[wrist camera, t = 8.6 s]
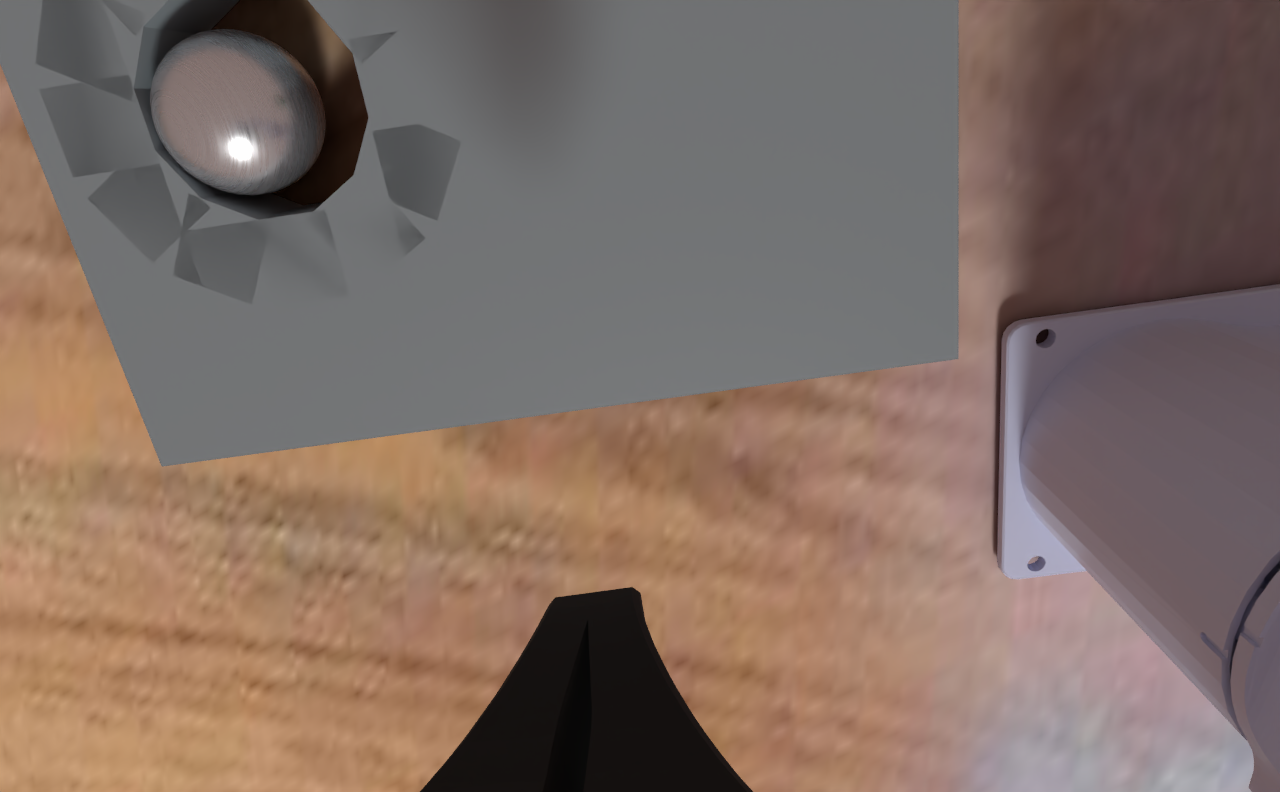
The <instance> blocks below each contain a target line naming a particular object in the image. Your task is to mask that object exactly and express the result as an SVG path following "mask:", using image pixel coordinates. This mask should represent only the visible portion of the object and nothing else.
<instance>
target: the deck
mask: <svg viewBox="0 0 1280 792" xmlns="http://www.w3.org/2000/svg"><path fill="white" fill-rule="evenodd" d="M238 1H239V0H0V64H1V67H2V69H3V72H4V74H5V77H6V79H7V82H8V84H9V87H10V89H11V92H12V94H13V97H14V99H15V102H16V104H17V107H18V109H19V112H20V114H21V117H22V119H23V122H24V124H25V127H26V129H27V132H28V134H29V137H30V139H31V142H32V144H33V147H34V149H35V152H36V154H37V157H38V159H39V162H40V164H41V167H42V169H43V172H44V174H45V177H46V179H47V182H48V184H49V187H50V189H51V191H52V194H53V196H54V199H55V201H56V204H57V206H58V209H59V211H60V214H61V216H62V219H63V221H64V224H65V226H66V229H67V231H68V234H69V236H70V239H71V241H72V244H73V246H74V249H75V251H76V254H77V256H78V259H79V261H80V264H81V266H82V269H83V271H84V274H85V276H86V279H87V281H88V284H89V286H90V289H91V291H92V294H93V296H94V299H95V301H96V304H97V306H98V309H99V311H100V314H101V316H102V319H103V321H104V324H105V326H106V329H107V331H108V334H109V336H110V339H111V341H112V344H113V346H114V348H115V351H116V353H117V356H118V358H119V361H120V363H121V366H122V368H123V371H124V373H125V376H126V378H127V381H128V383H129V386H130V388H131V391H132V393H133V396H134V398H135V401H136V403H137V406H138V408H139V411H140V413H141V416H142V418H143V421H144V423H145V426H146V428H147V431H148V433H149V436H150V438H151V441H152V443H153V446H154V448H155V451H156V453H157V456H158V458H159V461H160V463H161V466H169V465H176V464H184V463H191V462H198V461H206V460H213V459H221V458H228V457H235V456H243V455H250V454H258V453H265V452H272V451H280V450H287V449H295V448H302V447H309V446H317V445H324V444H332V443H339V442H347V441H354V440H361V439H369V438H376V437H384V436H391V435H398V434H406V433H413V432H421V431H428V430H435V429H443V428H450V427H458V426H465V425H472V424H480V423H487V422H495V421H502V420H509V419H517V418H524V417H532V416H539V415H546V414H554V413H561V412H569V411H576V410H583V409H591V408H598V407H606V406H613V405H620V404H628V403H635V402H643V401H650V400H657V399H665V398H672V397H680V396H687V395H694V394H702V393H709V392H717V391H724V390H731V389H739V388H746V387H754V386H761V385H768V384H776V383H783V382H791V381H798V380H806V379H813V378H820V377H828V376H835V375H843V374H850V373H857V372H865V371H872V370H880V369H887V368H894V367H902V366H909V365H917V364H924V363H931V362H939V361H946V360H954V359H958V0H308V1H309V2H310V4H311V5H312V6H313V7H314V8H315V10H316V11H317V12H318V13H319V14H320V16H321V17H322V18H323V19H324V20H325V21H326V23H327V24H328V25H329V26H330V27H331V29H332V30H333V31H334V32H335V33H336V34H337V36H338V37H339V38H340V39H341V40H342V42H343V43H344V44H345V45H346V46H347V48H348V49H349V50H350V51H351V52H352V54H353V58H354V62H355V65H356V69H357V73H358V77H359V81H360V85H361V89H362V93H363V97H364V101H365V105H366V109H367V113H368V117H369V118H368V122H367V126H366V130H365V134H364V137H363V141H362V145H361V149H360V153H359V157H358V161H357V164H356V168H355V172H354V175H353V176H352V177H351V178H350V179H349V180H348V181H346V182H345V183H344V184H343V185H342V186H341V187H340V188H339V189H338V190H337V191H335V192H334V193H333V194H332V195H331V196H330V197H329V198H328V199H327V200H326V201H324V202H322V203H315V204H308V205H300V204H298V203H295V202H292V201H290V200H287V199H285V198H282V197H279V196H277V195H274V194H272V193H268V194H261V195H240V194H234V193H229V192H225V191H222V190H219V189H216V188H214V187H211V186H209V185H207V184H205V183H203V182H202V181H200V180H198V179H197V178H195V177H194V176H192V175H191V174H190V173H188V172H187V171H186V170H185V169H183V168H182V167H181V166H180V165H179V164H178V163H177V162H176V161H175V160H174V159H173V157H172V156H171V155H170V154H169V152H168V151H167V150H166V148H165V146H164V145H163V143H162V141H161V140H160V138H159V136H158V133H157V131H156V129H155V126H154V123H153V119H152V114H151V106H150V92H151V85H152V81H153V77H154V75H155V72H156V69H157V67H158V65H159V64H160V62H161V61H162V59H163V58H164V56H165V55H166V54H167V53H168V52H169V51H170V50H171V49H172V48H173V47H174V46H175V45H177V44H178V43H179V42H181V41H182V40H184V39H185V38H188V37H190V36H192V35H194V34H197V33H200V32H204V31H208V30H211V29H212V28H213V27H214V26H215V25H216V24H217V23H218V22H219V21H220V20H221V19H222V18H223V17H224V16H225V15H226V14H227V13H228V12H229V11H230V10H231V9H232V8H233V7H234V6H235V5H236V4H237V2H238Z"/></svg>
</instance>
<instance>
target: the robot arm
mask: <svg viewBox="0 0 1280 792" xmlns="http://www.w3.org/2000/svg"><path fill="white" fill-rule="evenodd" d="M1045 329H1048V331H1049V334H1048V337H1047V339H1046V340H1045V341H1044V342H1042V343H1039V344H1036V337H1037V335H1038V333H1039V332H1040V331H1042V330H1045ZM1036 556H1039V558H1038V560H1037V561H1036V562H1035V563H1032V564H1028V561H1029V560H1030V559H1031V558H1033V557H1036ZM997 563H998V567H999V568H1000V570H1001V571H1002V572H1003V573H1004V575H1005V576H1006V577H1008V578H1011V579H1024V578H1033V577H1041V576H1049V575H1057V574H1066V573H1074V572H1082V571H1087V572H1088V573H1089V574H1090V575H1091V576H1092V577H1093V578H1094V579H1095V580H1096V581H1097V582H1098V583H1099V584H1100V585H1101V586H1102V587H1103V589H1104V590H1105V591H1106V592H1107V593H1108V594H1109V595H1110V596H1111V597H1112V598H1113V599H1114V600H1115V601H1116V602H1117V603H1118V604H1119V606H1120V607H1121V608H1122V609H1123V610H1124V611H1125V612H1126V613H1127V614H1128V615H1129V616H1130V617H1131V618H1132V619H1133V620H1134V621H1135V623H1136V624H1137V625H1138V626H1139V627H1140V628H1141V629H1142V630H1143V631H1144V632H1145V633H1146V634H1147V635H1148V636H1149V637H1150V638H1151V639H1152V641H1153V642H1154V643H1155V644H1156V645H1157V646H1158V647H1159V648H1160V649H1161V650H1162V651H1163V652H1164V653H1165V654H1166V655H1167V656H1168V658H1169V659H1170V660H1171V661H1172V662H1173V663H1174V664H1175V665H1176V666H1177V667H1178V668H1179V669H1180V670H1181V671H1182V672H1183V673H1184V675H1185V676H1186V677H1187V678H1188V679H1189V680H1190V681H1191V682H1192V683H1193V684H1194V685H1195V686H1196V687H1197V688H1198V689H1199V690H1200V692H1201V693H1202V694H1203V695H1204V696H1205V697H1206V698H1207V699H1208V700H1209V701H1210V702H1211V703H1212V704H1213V705H1214V706H1215V707H1216V709H1217V710H1218V711H1219V712H1220V713H1221V714H1222V715H1223V716H1224V717H1225V718H1226V719H1227V720H1228V721H1229V722H1230V723H1231V724H1232V725H1233V727H1234V728H1235V729H1236V730H1237V731H1238V732H1239V733H1240V734H1241V735H1242V736H1243V737H1244V738H1245V739H1246V740H1247V741H1248V743H1249V745H1250V747H1251V749H1252V751H1253V756H1254V771H1253V775H1252V778H1251V781H1250V784H1249V789H1250V790H1251V791H1252V792H1280V284H1277V285H1270V286H1262V287H1255V288H1248V289H1241V290H1233V291H1226V292H1219V293H1211V294H1204V295H1197V296H1189V297H1182V298H1175V299H1168V300H1160V301H1153V302H1146V303H1138V304H1131V305H1124V306H1116V307H1109V308H1102V309H1095V310H1087V311H1080V312H1073V313H1065V314H1058V315H1051V316H1043V317H1036V318H1029V319H1022V320H1018V321H1015V322H1013V323H1012V324H1010V325H1009V326H1008V327H1007V328H1006V330H1005V331H1004V333H1003V337H1002V353H1001V401H1000V450H999V498H998V546H997ZM420 792H753V791H752V790H751V789H750V788H749V787H748V786H747V785H746V784H745V783H744V781H743V780H742V779H741V778H740V777H739V776H738V774H737V773H736V772H735V771H734V769H733V768H732V767H731V766H730V765H729V763H728V762H727V761H726V760H725V758H724V757H723V756H722V755H721V753H720V752H719V751H718V749H717V748H716V747H715V745H714V744H713V743H712V741H711V740H710V739H709V737H708V736H707V735H706V733H705V732H704V730H703V729H702V727H701V726H700V725H699V723H698V722H697V720H696V719H695V717H694V716H693V714H692V712H691V711H690V709H689V708H688V706H687V704H686V703H685V701H684V700H683V698H682V696H681V695H680V693H679V691H678V690H677V688H676V686H675V684H674V683H673V681H672V679H671V677H670V675H669V673H668V671H667V670H666V668H665V666H664V664H663V662H662V660H661V658H660V656H659V654H658V652H657V649H656V647H655V645H654V643H653V640H652V638H651V635H650V633H649V630H648V627H647V625H646V622H645V617H644V611H643V606H642V600H641V594H640V592H638V591H637V590H636V589H634V588H633V587H630V588H623V589H615V590H608V591H601V592H593V593H586V594H579V595H571V596H564V597H556V598H555V599H554V600H553V601H552V602H551V603H550V605H549V606H548V608H547V610H546V612H545V614H544V616H543V618H542V619H541V621H540V623H539V625H538V627H537V628H536V630H535V632H534V634H533V636H532V637H531V639H530V641H529V642H528V644H527V646H526V648H525V649H524V651H523V653H522V654H521V656H520V658H519V659H518V661H517V662H516V664H515V666H514V667H513V669H512V670H511V672H510V674H509V675H508V677H507V678H506V680H505V681H504V683H503V685H502V686H501V688H500V689H499V691H498V692H497V694H496V695H495V697H494V698H493V700H492V701H491V702H490V704H489V705H488V707H487V708H486V709H485V711H484V712H483V714H482V715H481V716H480V718H479V719H478V721H477V722H476V723H475V725H474V726H473V727H472V729H471V730H470V732H469V733H468V734H467V736H466V737H465V738H464V740H463V741H462V742H461V743H460V745H459V746H458V747H457V749H456V750H455V751H454V752H453V754H452V755H451V756H450V757H449V759H448V760H447V761H446V762H445V763H444V765H443V766H442V767H441V768H440V769H439V770H438V772H437V773H436V774H435V775H434V776H433V777H432V779H431V780H430V781H429V782H428V783H427V784H426V786H425V787H424V788H423V789H422V790H421V791H420Z"/></svg>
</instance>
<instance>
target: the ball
mask: <svg viewBox="0 0 1280 792" xmlns="http://www.w3.org/2000/svg"><path fill="white" fill-rule="evenodd" d="M150 106H151V114H152V119H153V123H154V126H155V129H156V131H157V133H158V136H159V138H160V140H161V141H162V143H163V145H164V146H165V148H166V150H167V151H168V152H169V154H170V155H171V156H172V157H173V159H174V160H175V161H176V162H177V163H178V164H179V165H180V166H181V167H182V168H183V169H185V170H186V171H187V172H188V173H190V174H191V175H192V176H194V177H195V178H197V179H198V180H200V181H202V182H203V183H205V184H207V185H209V186H211V187H214V188H216V189H219V190H222V191H225V192H229V193H234V194H240V195H261V194H268V193H272V192H276V191H279V190H281V189H284V188H286V187H288V186H290V185H292V184H294V183H295V182H297V181H298V180H299V179H301V178H302V177H303V176H304V175H305V174H306V173H307V172H308V171H309V170H310V169H311V167H312V166H313V165H314V163H315V162H316V160H317V158H318V156H319V154H320V152H321V149H322V146H323V142H324V137H325V129H326V122H325V112H324V106H323V102H322V99H321V96H320V94H319V91H318V89H317V87H316V85H315V83H314V81H313V80H312V78H311V77H310V75H309V74H308V72H307V71H306V70H305V68H304V67H303V66H302V65H301V63H300V62H299V61H298V60H297V59H296V58H294V57H293V56H292V55H291V54H290V53H289V52H287V51H286V50H285V49H284V48H282V47H281V46H279V45H277V44H276V43H274V42H272V41H270V40H268V39H266V38H264V37H262V36H259V35H257V34H253V33H250V32H246V31H242V30H234V29H216V30H208V31H204V32H200V33H197V34H194V35H192V36H190V37H188V38H185V39H184V40H182V41H181V42H179V43H178V44H177V45H175V46H174V47H173V48H172V49H171V50H170V51H169V52H168V53H167V54H166V55H165V56H164V58H163V59H162V61H161V62H160V64H159V65H158V67H157V69H156V72H155V75H154V77H153V81H152V85H151V92H150Z"/></svg>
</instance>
